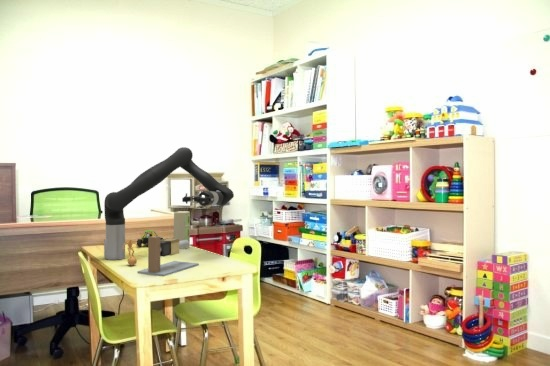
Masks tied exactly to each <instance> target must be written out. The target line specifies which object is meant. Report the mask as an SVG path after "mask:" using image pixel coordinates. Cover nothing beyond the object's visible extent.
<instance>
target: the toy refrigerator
mask: <svg viewBox="0 0 550 366" xmlns="http://www.w3.org/2000/svg"><path fill="white" fill-rule="evenodd" d="M190 222H191V212H190V211H187V210H186V211H184V210H183V211H182V210H181V211H180V210H178V211H174V213H173V239H179V241H182V240H188V241H189V245H188V246H185V247H181V248H179V250H180V249H185V250H187V249H188V248H190V247H191V245H190V244H191V242H190V240H191V230H190V229H191V223H190Z"/></svg>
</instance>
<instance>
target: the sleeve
mask: <svg viewBox="0 0 550 366" xmlns="http://www.w3.org/2000/svg"><path fill="white" fill-rule="evenodd" d="M160 241H164V242H170V255H169V256H175V255H178V254H180V249H179V239H174V238H163V240H160Z"/></svg>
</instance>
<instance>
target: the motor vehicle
mask: <svg viewBox="0 0 550 366" xmlns="http://www.w3.org/2000/svg"><path fill="white" fill-rule="evenodd" d="M154 234H155V235H154ZM151 236H158V237H160V236H159V235H158V234H157V233H156V231H155V230H146V231H144V234H143V235H142V236H141V238H137V241H136V244H137V245H138V247H139V248H142V245H147V244H148V237H151ZM163 239H164V237H160V240H163ZM138 247H137V248H138Z"/></svg>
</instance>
